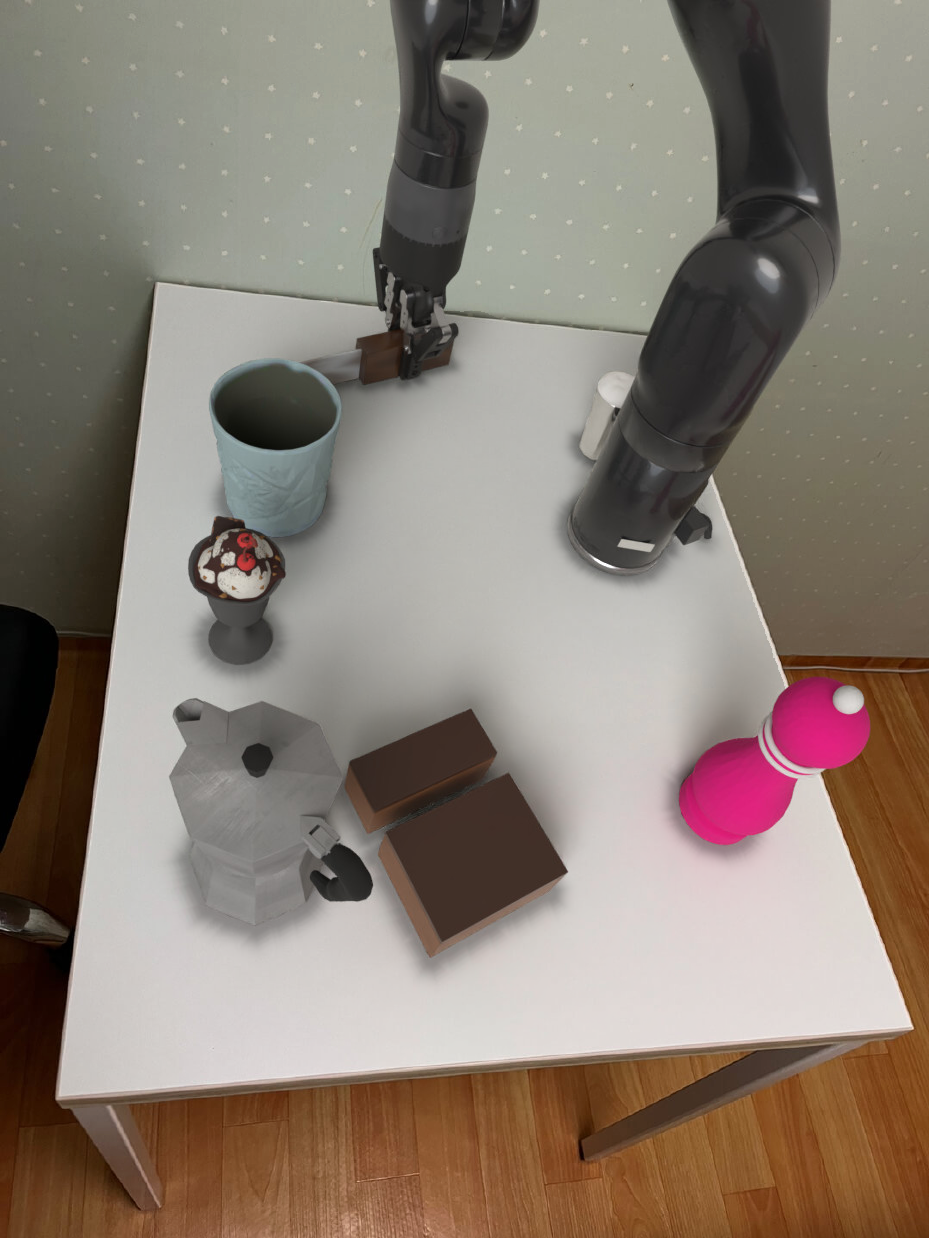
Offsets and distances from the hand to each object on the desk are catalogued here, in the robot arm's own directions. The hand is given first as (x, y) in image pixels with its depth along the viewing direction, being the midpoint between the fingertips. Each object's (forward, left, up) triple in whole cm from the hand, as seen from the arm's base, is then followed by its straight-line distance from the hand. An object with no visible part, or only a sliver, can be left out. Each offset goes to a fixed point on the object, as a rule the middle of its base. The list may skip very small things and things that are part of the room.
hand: (401, 366), depth 89 cm
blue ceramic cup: (+19, +12, 0) cm, 22 cm away
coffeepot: (+32, +42, 0) cm, 53 cm away
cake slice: (+20, +41, 0) cm, 45 cm away
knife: (+6, 0, 0) cm, 6 cm away
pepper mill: (-1, +53, 0) cm, 53 cm away
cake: (+20, +48, 0) cm, 52 cm away
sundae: (+27, +24, 0) cm, 36 cm away
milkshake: (-14, +17, 0) cm, 22 cm away
